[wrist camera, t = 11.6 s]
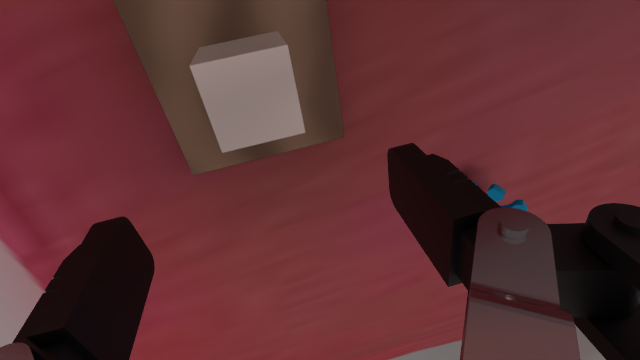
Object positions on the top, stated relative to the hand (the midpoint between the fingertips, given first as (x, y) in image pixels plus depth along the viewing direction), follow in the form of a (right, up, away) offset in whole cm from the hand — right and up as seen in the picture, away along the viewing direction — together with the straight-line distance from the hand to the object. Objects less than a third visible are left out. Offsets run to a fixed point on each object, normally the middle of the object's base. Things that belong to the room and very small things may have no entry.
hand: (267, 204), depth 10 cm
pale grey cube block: (-3, +8, +12) cm, 14 cm away
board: (-4, +8, +13) cm, 16 cm away
